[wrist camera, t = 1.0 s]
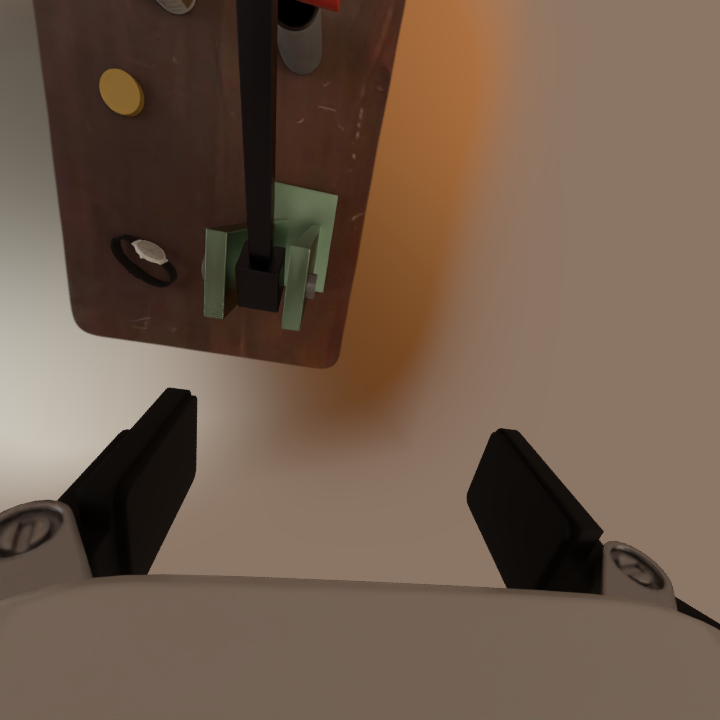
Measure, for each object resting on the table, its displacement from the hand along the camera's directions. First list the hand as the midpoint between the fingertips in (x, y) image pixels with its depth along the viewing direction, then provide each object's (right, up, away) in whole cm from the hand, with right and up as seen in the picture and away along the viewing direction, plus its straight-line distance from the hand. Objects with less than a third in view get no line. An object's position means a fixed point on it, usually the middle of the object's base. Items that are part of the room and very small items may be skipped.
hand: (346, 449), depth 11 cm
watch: (-26, +16, +34) cm, 46 cm away
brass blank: (-25, +32, +27) cm, 48 cm away
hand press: (-7, +18, +34) cm, 39 cm away
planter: (-6, +36, +27) cm, 45 cm away
